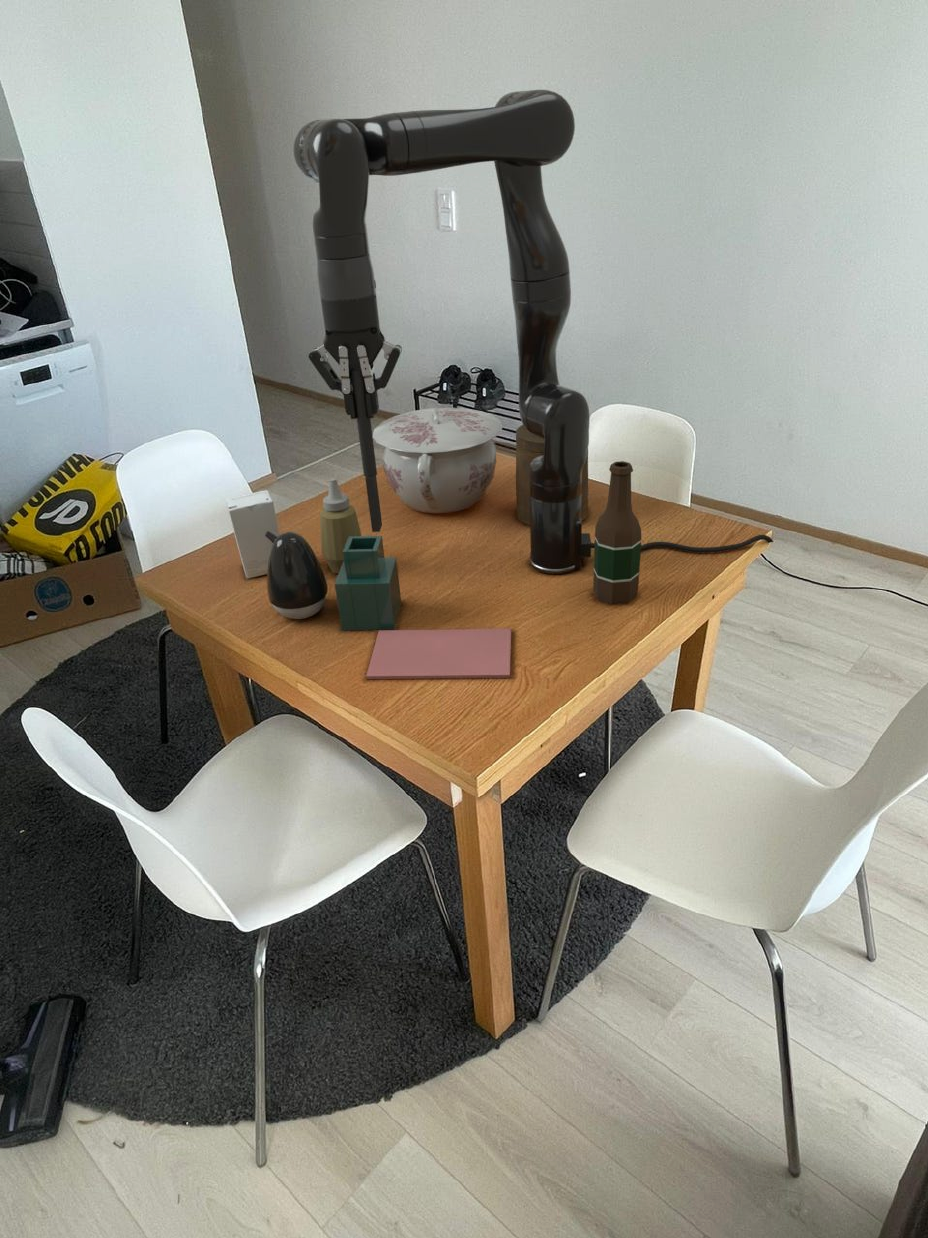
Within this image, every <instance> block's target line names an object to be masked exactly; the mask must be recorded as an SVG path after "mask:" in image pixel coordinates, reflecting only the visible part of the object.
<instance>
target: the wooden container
mask: <svg viewBox="0 0 928 1238" xmlns="http://www.w3.org/2000/svg"><path fill="white" fill-rule="evenodd" d="M589 444H590V434H589V435H588V446H590V445H589ZM541 455H544V439H543V438H540V437H538V436H536V435H534V434H532V433H530V432H529V431H528V430H527V429H526V428H525V427H524V425H523V424H521V425H519V427H517V428H516V430H515V493H516V495H515V496H516V497H515V499H516V516H517V518H518V520H519V521H521V522H522V523H524V524H526V525H529V526H530V477H529V467H530V463H531V461H532V460H533V459H535V458H536V457H538V456H541ZM588 507H589V447H588V448H587V457H586V461H585V464H584V466H583V469H582V489H581V521H582V522H583V521H584V520H585V519H586V518H587V517H588V511H589V510H588Z"/></svg>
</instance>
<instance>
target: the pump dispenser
mask: <svg viewBox="0 0 928 1238" xmlns="http://www.w3.org/2000/svg"><path fill="white" fill-rule="evenodd" d="M265 536H266V537H267V538H268V539H269V540H270V541H271V542H272V543H273V545H272V547H271V551H270V555H269V560H268V568H267V574H266V589H267V597H268V601H269V603H270V604H272V606H273V608H274V609H275V611H276V612H277V613H279V614H280V615H281V616H282V617H284V618H288V619H290V620H302V619H303V620H304V619H307V618H310V617H312V616H314V615H315V614H317V613H318V612H320V610H321V609H322V608H323V606H324V604H325V602H326V598H327V594H328V592H329V589H328V584H327V580H326V577H325V574H324V571H323V567H322V566H321V563H320V561H319V560H318V557H317V556H316V553H315V552H314V550H313V548H312V547H311V545H310V544H309V542H308V540H306V539H305V538H304V536H302V535H301V534H299V533H297V532H295V531H286V532H282V533H280V535H279V536H278V537H277V536H276V535H274V534H273V533H271V532H269V531H267V532H266V533H265Z"/></svg>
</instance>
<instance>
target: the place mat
mask: <svg viewBox="0 0 928 1238" xmlns="http://www.w3.org/2000/svg"><path fill="white" fill-rule="evenodd" d="M511 648H512V628H467V629H466V628H463V629H462V628H458V629H457V628H454V629H395V630H378V632H377V635H376V639H375V642H374V647H373V650H372V654H371V658H370V662H369V665H368V668H367V672H366V676H365V677H366V680H415V679H416V680H422V679H423V680H424V679H425V680H427V679H430V680H434V679H511V654H512V653H511V651H512V649H511Z"/></svg>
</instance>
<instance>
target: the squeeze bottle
mask: <svg viewBox="0 0 928 1238" xmlns="http://www.w3.org/2000/svg"><path fill="white" fill-rule="evenodd" d="M328 483H329V484H328V495H326V496H324V497H323V499H322V503H323V508H322V509H321V510H320V512H319V521H320V522H319V523H320V542H321V543H320V544H321V554H322V556H323V558H324V560H325V562H326V563H327V565H328V567H329V569H330V571H331V572H333V573H335V574H339V572H340V569H341V567H342V564H343V562H344V557H343V550H344V548H345V545H346V543H347V540H348V538H349V536H353V537H354V536H363V535H362V531H361V528H360V524H359V520H358V516H357V515H358V514H357V511H356V508H355V507H354V506H353V505H351V504H350V499H349V496H348V495H347V494H346V493H342V490H341V488H340V485H339V484H338V480H337V478H335V477H332V478H329V481H328Z"/></svg>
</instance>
